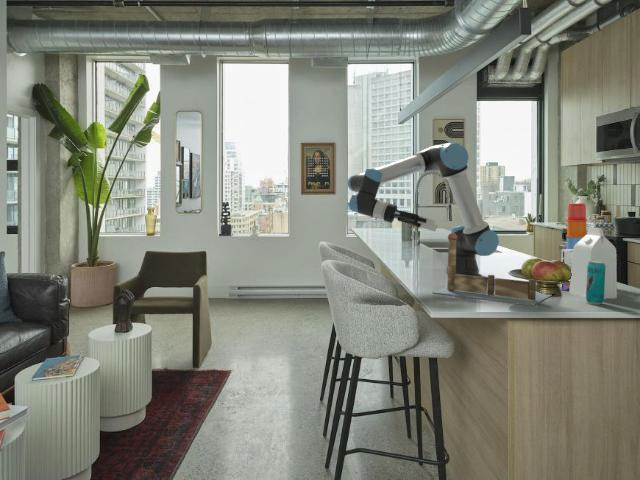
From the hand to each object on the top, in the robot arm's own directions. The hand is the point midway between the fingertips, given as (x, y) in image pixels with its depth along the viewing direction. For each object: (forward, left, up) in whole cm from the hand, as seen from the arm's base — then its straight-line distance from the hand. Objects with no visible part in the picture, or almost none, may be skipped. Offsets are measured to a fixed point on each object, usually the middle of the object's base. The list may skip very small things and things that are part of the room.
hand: (435, 226), depth 222 cm
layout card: (-4, +23, -26) cm, 35 cm away
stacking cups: (-51, +42, -26) cm, 71 cm away
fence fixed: (+2, +32, -25) cm, 40 cm away
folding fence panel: (+2, +14, -25) cm, 29 cm away
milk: (-24, +54, -26) cm, 65 cm away
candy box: (-34, +47, -26) cm, 64 cm away
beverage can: (-8, +58, -26) cm, 64 cm away
